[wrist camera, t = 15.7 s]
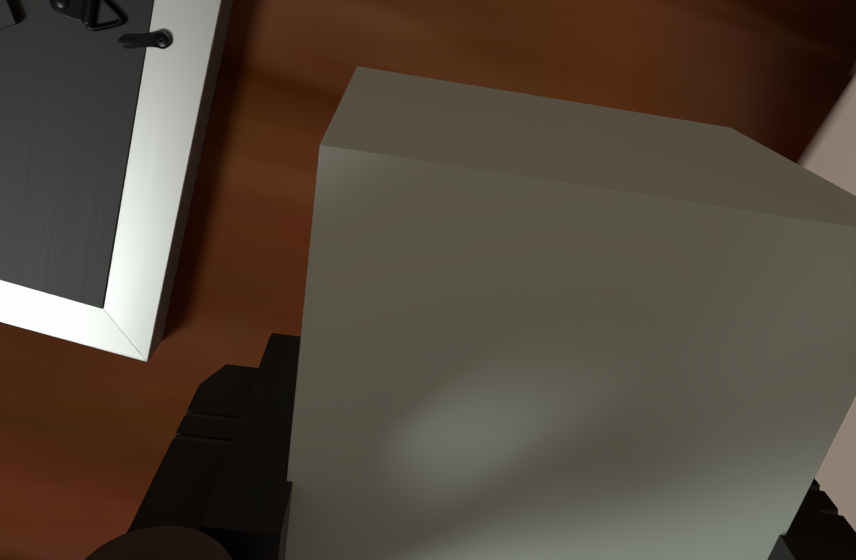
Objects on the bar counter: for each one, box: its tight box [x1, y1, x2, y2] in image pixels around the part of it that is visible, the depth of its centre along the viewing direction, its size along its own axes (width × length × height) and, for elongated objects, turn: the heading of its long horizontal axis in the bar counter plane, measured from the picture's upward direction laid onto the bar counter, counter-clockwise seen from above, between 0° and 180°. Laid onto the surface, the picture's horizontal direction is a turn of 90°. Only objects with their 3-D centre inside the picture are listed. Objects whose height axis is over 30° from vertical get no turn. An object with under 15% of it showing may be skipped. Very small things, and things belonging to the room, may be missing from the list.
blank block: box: [285, 66, 856, 560], centre depth 9 cm, size 10×5×4 cm, turn 171°
